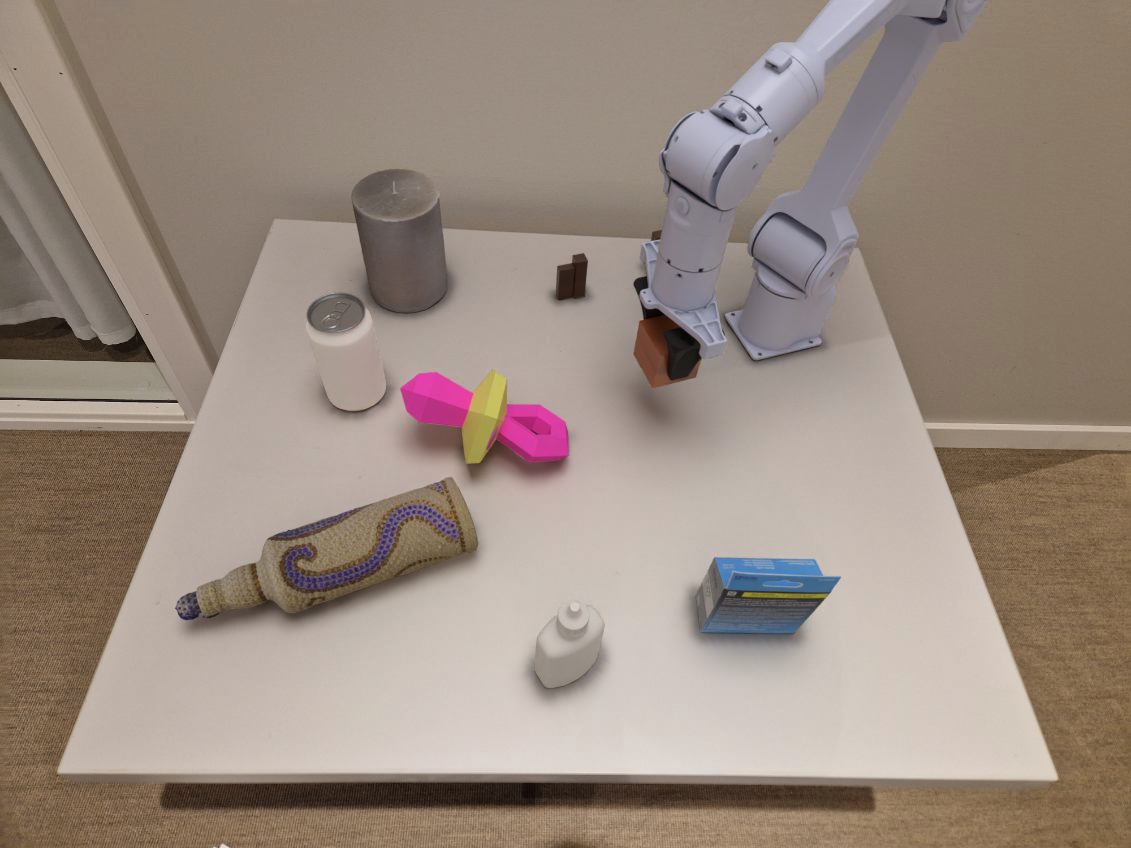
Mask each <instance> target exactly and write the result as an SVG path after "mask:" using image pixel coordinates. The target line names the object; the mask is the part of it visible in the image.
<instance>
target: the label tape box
mask: <svg viewBox="0 0 1131 848" xmlns="http://www.w3.org/2000/svg"><path fill="white" fill-rule="evenodd" d="M841 578H842V576H841V575H824V574H823V571H822V570H821V567H820V566H819V564H818V561H817V560H816V559H815V558H772V557H771V558H770V557H769V558H768V557H767V558H765V557H763V558H761V557H760V558H759V557H725V556H724V557H720V556H719V557H718V556H714V558H712V561H711V563H710V565H709V567H708V569H707V572H706V574H705V575H704V577H703V579H702V582H701V583H700V585H699V587H698V589H697V592H696V594H695V600H696V608H697V615H698V622H699V631H700V632H701V633H724V634H725V633H729V634H731V633H733V634H734V633H735V634H738V633H739V634H795V633H796V632H797V631H798V630H799V629H800V628H801V627H802V626H803V625H804V624H805V622H807V620H808V619H809V618H810V617H811V616H813V613H815V612H816V610H817V609H818V608H819V607H820V606H821V605H822V604H823V603H824V601H825V600H826V599H827V598H828V596H829V595H830V594H831V593H832V591H833V590H834V588H835V587H836V586H837V584H838V583H839V581H840V580H841Z"/></svg>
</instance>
